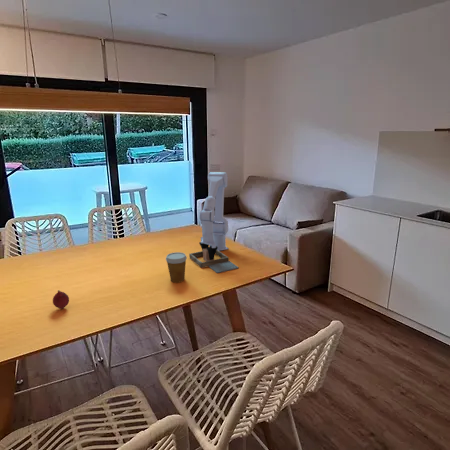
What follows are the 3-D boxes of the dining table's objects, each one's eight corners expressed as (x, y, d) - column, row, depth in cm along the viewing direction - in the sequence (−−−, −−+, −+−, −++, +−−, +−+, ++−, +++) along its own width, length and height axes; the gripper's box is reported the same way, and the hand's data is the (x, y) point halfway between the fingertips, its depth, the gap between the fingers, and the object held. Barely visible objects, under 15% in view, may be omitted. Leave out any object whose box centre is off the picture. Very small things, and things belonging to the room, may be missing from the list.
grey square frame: (189, 258, 185) (189, 253, 184) (215, 252, 192) (215, 248, 191) (201, 267, 172) (201, 263, 171) (228, 261, 179) (228, 257, 178)
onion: (72, 304, 138) (69, 286, 136) (66, 312, 133) (63, 293, 131) (58, 305, 138) (54, 287, 136) (51, 312, 133) (48, 293, 130)
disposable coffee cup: (189, 275, 163) (188, 252, 160) (185, 284, 154) (184, 259, 151) (170, 275, 164) (168, 251, 161) (164, 284, 155) (163, 259, 152)
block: (203, 259, 183) (202, 248, 181) (210, 257, 185) (210, 247, 183) (206, 262, 179) (206, 251, 177) (214, 260, 181) (213, 249, 179)
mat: (208, 266, 173) (208, 265, 173) (229, 262, 178) (229, 260, 178) (216, 273, 165) (216, 272, 165) (238, 268, 170) (238, 267, 170)
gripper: (195, 230, 182) (196, 254, 186) (206, 237, 170) (207, 263, 174) (207, 228, 185) (208, 251, 189) (219, 235, 173) (219, 260, 177)
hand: (208, 257), depth 182 cm, fingers open, 7 cm apart
